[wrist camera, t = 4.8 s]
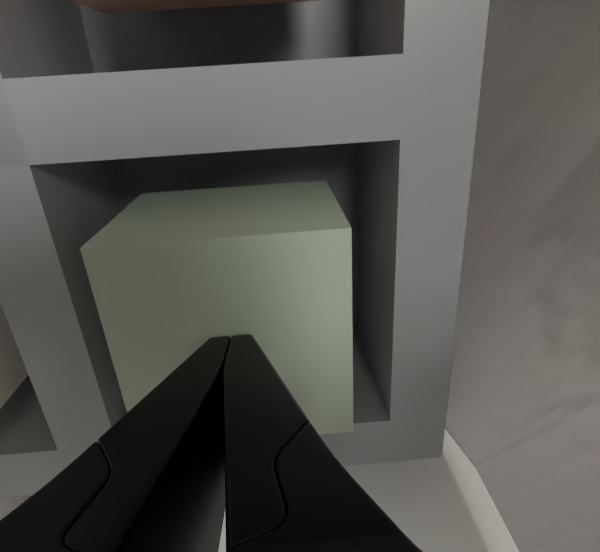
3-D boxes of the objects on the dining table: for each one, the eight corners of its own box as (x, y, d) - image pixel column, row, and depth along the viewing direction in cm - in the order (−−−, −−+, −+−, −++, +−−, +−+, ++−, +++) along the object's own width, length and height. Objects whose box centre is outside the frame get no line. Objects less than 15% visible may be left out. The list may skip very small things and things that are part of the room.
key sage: (325, 180, 12) (352, 227, 8) (331, 335, 14) (353, 431, 10) (142, 193, 12) (79, 248, 8) (174, 348, 14) (138, 451, 10)
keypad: (424, -408, 10) (587, -926, 5) (394, 353, 18) (442, 457, 13) (-540, -380, 9) (-1535, -942, 4) (-105, 395, 17) (-255, 521, 12)
